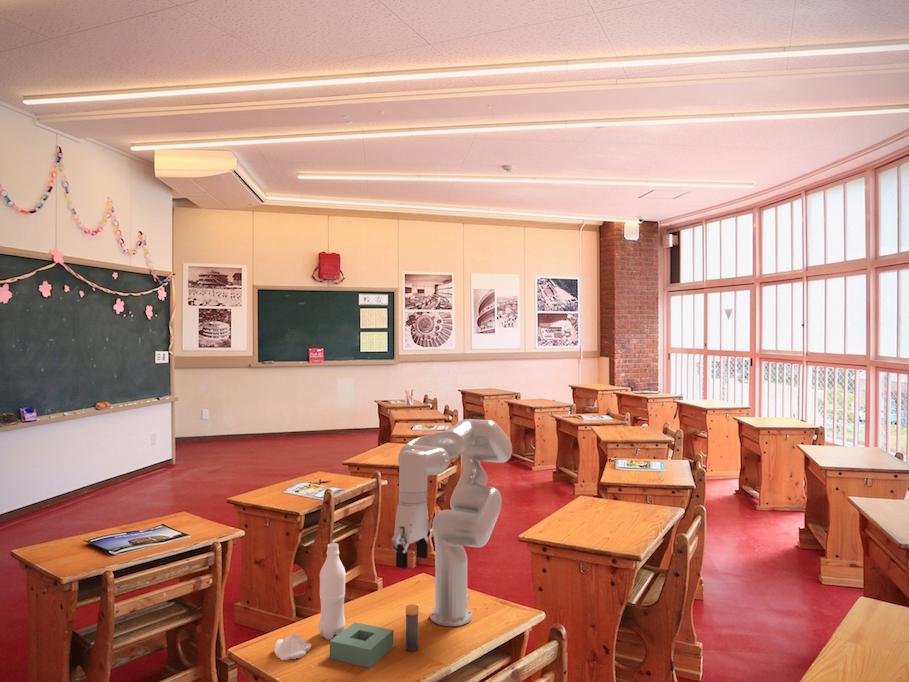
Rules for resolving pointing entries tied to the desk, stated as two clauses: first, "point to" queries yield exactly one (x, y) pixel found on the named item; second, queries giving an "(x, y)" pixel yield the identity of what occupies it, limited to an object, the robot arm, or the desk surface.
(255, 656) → the desk surface
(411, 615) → the round peg
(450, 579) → the robot arm
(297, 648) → the rose
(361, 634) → the socket block
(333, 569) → the water bottle
